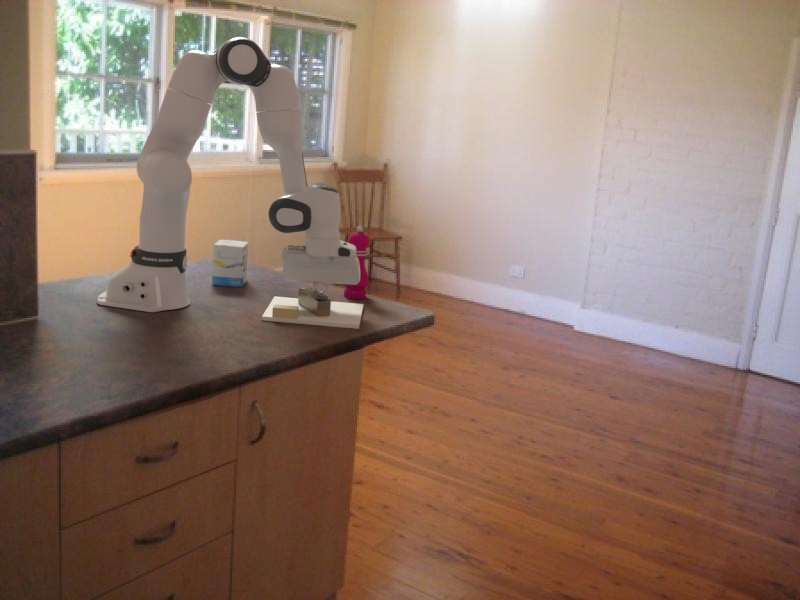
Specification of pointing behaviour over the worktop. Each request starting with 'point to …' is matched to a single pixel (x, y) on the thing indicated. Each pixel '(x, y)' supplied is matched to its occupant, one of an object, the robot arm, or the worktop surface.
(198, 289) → the worktop surface
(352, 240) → the pepper mill
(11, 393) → the worktop surface
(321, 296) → the bar
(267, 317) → the latch board
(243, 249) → the ink box
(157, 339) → the worktop surface
